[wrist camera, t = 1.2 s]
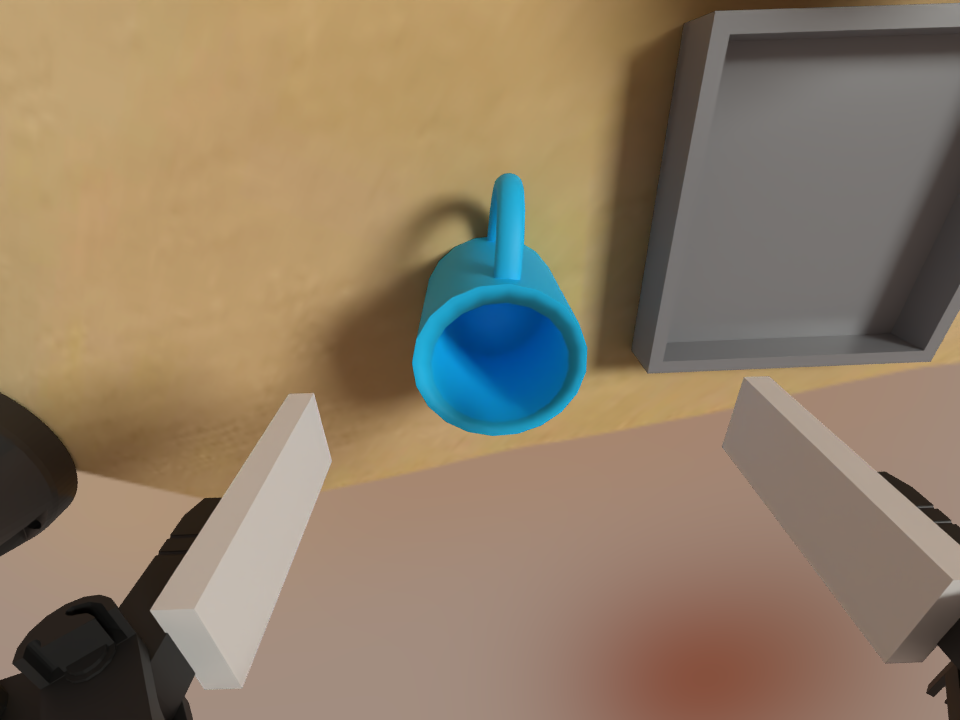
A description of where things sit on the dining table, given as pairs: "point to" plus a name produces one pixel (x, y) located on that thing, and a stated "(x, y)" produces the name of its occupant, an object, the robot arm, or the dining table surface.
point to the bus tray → (807, 191)
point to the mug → (498, 330)
